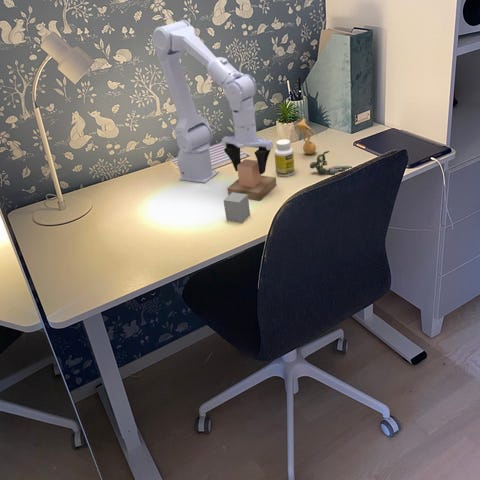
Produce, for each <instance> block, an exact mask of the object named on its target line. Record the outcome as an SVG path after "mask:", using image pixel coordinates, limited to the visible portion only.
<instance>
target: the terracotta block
mask: <svg viewBox="0 0 480 480" xmlns="http://www.w3.org/2000/svg"><path fill="white" fill-rule="evenodd" d="M237 170H238V171H237V176H238V179H239V185H240V186H247V187H255V186H256V185H257V184H258V183H259V182H260V181H261V175H262V174H260V173H259V167H258V161H257V159H256V160H255V159H247V158H245V159H243V160H241V163H240V164H238V165H237Z"/></svg>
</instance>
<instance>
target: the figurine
mask: <svg viewBox="0 0 480 480" xmlns="http://www.w3.org/2000/svg"><path fill="white" fill-rule="evenodd" d="M297 127H298V128H299V129H300V133H301V134H302V135H303V142H305V143H304V144H303V147H302V148H303V149H302V150H303V152H304V153H305V154H307V155H312V154H314V153H315V152H316V149H317V145H316V144H315V143H314V142H313V141H311V140H310V139H311V136H312V134H311V133H310V132H309V130H310V131H311V132H312V133H313V134H314V135H315V136H316V137H317V136H318V134H317V133H316V132H315V131H314V130H313V129H312V127H311V126H309V125H308V124H307V123H306V118H302V120H301V121H300V122H298V123H296V124H294V131H295V132H297V130H298V129H297ZM307 129H308V130H307ZM306 138H307V140H306Z"/></svg>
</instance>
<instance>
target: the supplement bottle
mask: <svg viewBox="0 0 480 480" xmlns="http://www.w3.org/2000/svg"><path fill="white" fill-rule="evenodd" d="M275 143H276V149H274V162H275V163H274V164H275V174H276V175H277V176H279V177H291V176H292V175H294V173H295V160H294V149H293V147H291V140H289V139H279V140H277V141H276V142H275Z"/></svg>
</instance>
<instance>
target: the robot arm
mask: <svg viewBox="0 0 480 480" xmlns="http://www.w3.org/2000/svg"><path fill="white" fill-rule="evenodd" d="M151 41H152V44H153V47H154V51H155V53H156V56H157V58H158V62H159V64H160V67H161V70H162V73H163V75H164V79H165V81H166V85H167V87H168V90H169V93H170V96H171V99H172V102H173V105H174V108H175V110H176V113H177V116H178V122H177V124H176V126H175V128H174V131H175V135H176V138H175V139H176V143H177V147H178V148H179V150H178V153H177V163H178V169H179V175H180V177H179V180H181V181H188V182H195V183H203V184H206V183H207V182H208V181H210V180H211V179H213V178H214V177H215V176H216V175H217V174H218V173H219V171H218V170H213V167H212V159H211V153H210V146H211V142H212V140H213V137H214V135H213V130H212V128H211V127H210V125H209V124H208V122H207V119H206V117H205V116H204V117H203V116H201V115H200V114H198V111H197V109H196V105H195V102H194V100H193V97H192V94H191V91H190V88H189V84H188V81H187V78H186V76H185V73H184V70H183V67H182V64H181V61H180V59H181V57H182V55H183V53H184V52H187V53H188V54H190V55H191V56H192V57H193V58H194V59H196V60H197V61H199V62H200V63H201V64H202V65H203V66H205V67H206V69H207V71H206V72H207V76H209V77H210V78H211V79H212V80H213V81H214V82H216V83H217V84H218V85H219V86H220V87H221V88H222V89H223V90H224V96H225V98H226V100H227V101H228V103H229V108H230V110H231V112H232V120H233V128H234V129H233V130H234V136H233V135H232V136H227V135H226V136H223V138H221V142H222V146H225V148H224V149H223V151H224V153H225V154H226V155H227V156H228V158H229V159H230V162H231V163H232V166H233V168H234V170H235V172H238V170H237V165H238V164H240V163H241V162H242V160H241V149H244V148H254V149H255V148H256V149H257V150H256V151H254V155H255V158H256V160H257V161H258V167H259V173H260V174H261V175H264V174H265V173H266V169H267V168H266V167H267V163H268V159H269V155H270V152H271V151H272V149H273V148H274V145H273V143H274V142H273V140H271V139H270V140H269V139H266V138H262V137H259V136H258V135H257V134H258V133H257V126H256V125H257V124H256V115H255V114H256V113H255V105H254V96H255V95H256V93H257V87H258V86H257V83H256V81H255V80H254V78H253V77H252V76H251V75H250V74H246V73H245V74H244V73H243V72H240V71H238V70H237V69H236V68H235V67H234V66H233V65H232V64H230V62H229V61H228V59H227V58H226V57H223V56H218V57H217V56H215V55H214V54H213V52H212V51H211V50H210V49H209V48H208V47H207V46H206V44H204V42H203V41H202V40H201V39H200V38H199V37H198V36H197V35H196V30H195V27H194V26H192V25H191V24H190V22H189V21H187V20H186V19H181V20H179V21H177V22H172V23H168V24H165V25H163V26H157V27H156V28H155V29H154V31H153V34H152V37H151Z"/></svg>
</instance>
